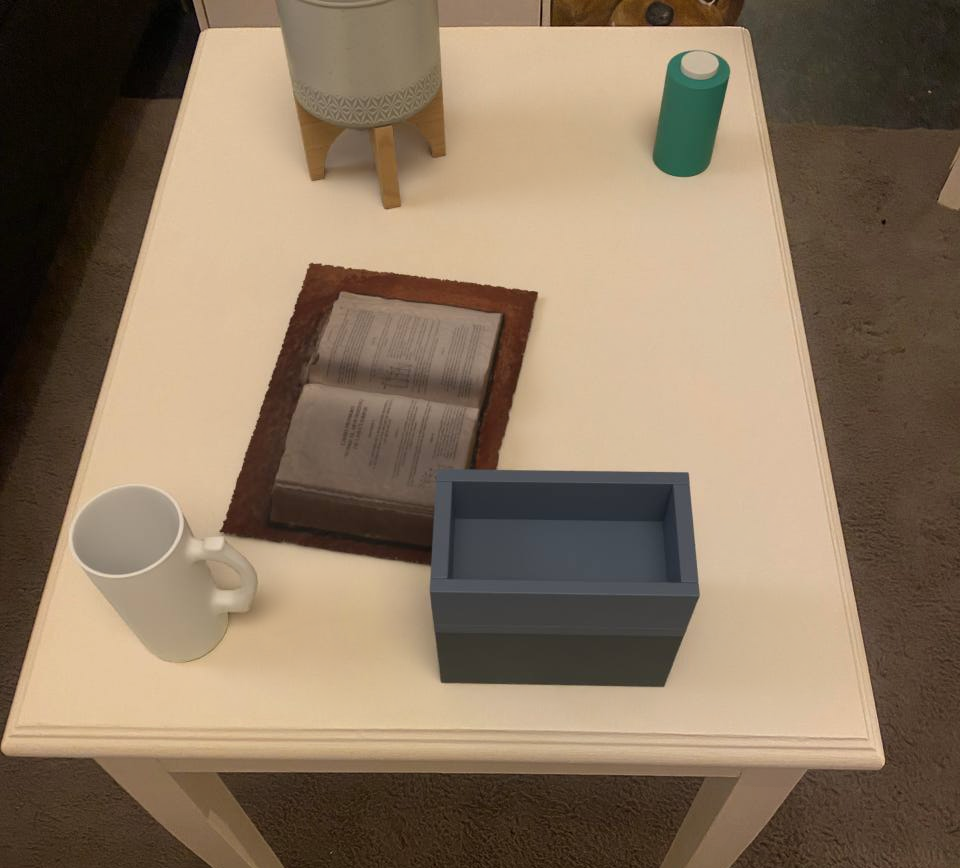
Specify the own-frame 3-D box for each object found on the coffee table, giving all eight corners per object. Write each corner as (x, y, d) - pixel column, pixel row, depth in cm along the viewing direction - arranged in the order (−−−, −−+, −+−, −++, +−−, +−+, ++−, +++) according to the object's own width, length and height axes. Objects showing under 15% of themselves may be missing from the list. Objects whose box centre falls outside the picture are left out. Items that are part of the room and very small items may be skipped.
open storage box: (657, 578, 68) (688, 471, 57) (664, 687, 64) (700, 596, 53) (446, 575, 68) (436, 468, 57) (440, 683, 64) (429, 591, 53)
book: (219, 539, 70) (206, 506, 66) (310, 267, 82) (303, 225, 78) (484, 584, 69) (487, 553, 65) (536, 303, 81) (542, 263, 77)
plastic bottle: (699, 135, 90) (719, 38, 82) (718, 171, 88) (741, 76, 80) (645, 143, 89) (660, 47, 81) (662, 180, 87) (679, 85, 79)
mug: (127, 664, 65) (55, 575, 54) (147, 581, 68) (83, 481, 58) (271, 670, 65) (227, 581, 54) (285, 585, 68) (246, 486, 57)
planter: (297, 133, 91) (255, -76, 75) (427, 108, 92) (413, -101, 76) (323, 221, 85) (283, 16, 69) (461, 194, 87) (453, -13, 71)
